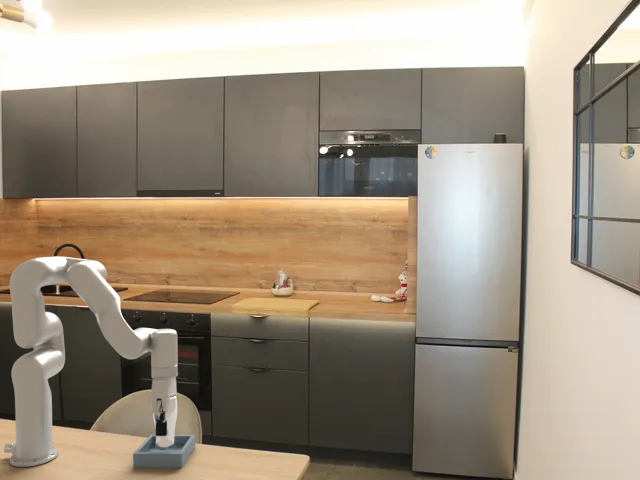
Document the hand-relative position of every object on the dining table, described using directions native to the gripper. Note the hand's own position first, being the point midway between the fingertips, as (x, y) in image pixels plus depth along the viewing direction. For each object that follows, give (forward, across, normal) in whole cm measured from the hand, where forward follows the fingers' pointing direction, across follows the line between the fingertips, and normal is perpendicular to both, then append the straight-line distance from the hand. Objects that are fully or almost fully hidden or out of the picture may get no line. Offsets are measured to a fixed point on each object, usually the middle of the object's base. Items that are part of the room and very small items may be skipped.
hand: (165, 430), depth 155 cm
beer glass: (+5, 0, 0) cm, 5 cm away
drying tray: (+8, 0, 0) cm, 8 cm away
